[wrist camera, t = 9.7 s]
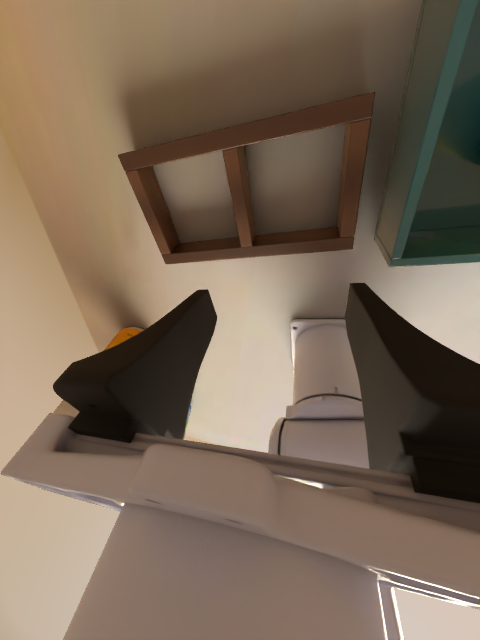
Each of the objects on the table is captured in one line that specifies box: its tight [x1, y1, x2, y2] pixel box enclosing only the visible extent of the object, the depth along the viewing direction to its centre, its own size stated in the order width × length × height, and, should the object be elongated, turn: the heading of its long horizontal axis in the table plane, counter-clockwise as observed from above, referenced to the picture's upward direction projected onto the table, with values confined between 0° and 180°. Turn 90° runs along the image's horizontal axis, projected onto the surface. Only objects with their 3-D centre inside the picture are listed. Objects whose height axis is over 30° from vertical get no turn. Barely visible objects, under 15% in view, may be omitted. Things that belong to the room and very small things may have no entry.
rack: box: [118, 92, 375, 264], centre depth 17 cm, size 8×16×2 cm, turn 100°
